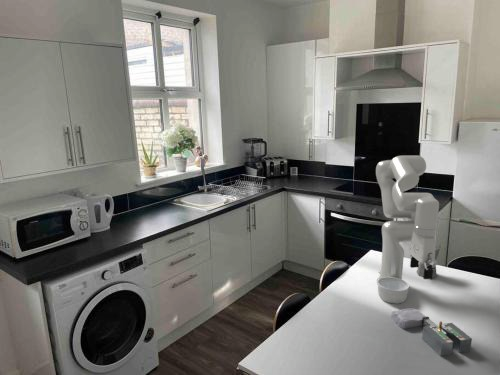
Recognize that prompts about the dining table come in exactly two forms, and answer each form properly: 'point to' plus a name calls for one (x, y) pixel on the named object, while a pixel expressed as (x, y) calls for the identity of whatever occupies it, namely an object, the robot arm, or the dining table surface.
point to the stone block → (407, 318)
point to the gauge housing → (446, 339)
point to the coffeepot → (421, 265)
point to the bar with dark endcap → (428, 322)
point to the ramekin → (392, 289)
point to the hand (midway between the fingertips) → (420, 272)
